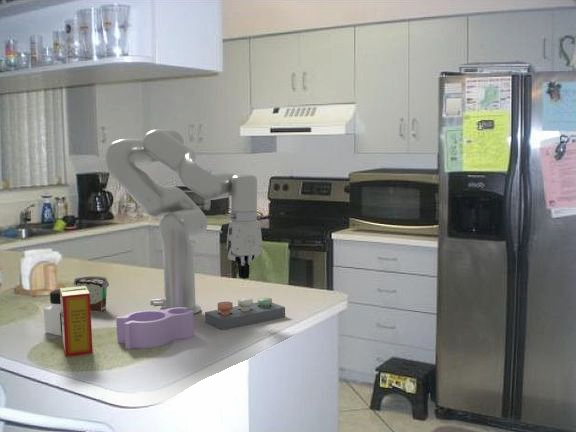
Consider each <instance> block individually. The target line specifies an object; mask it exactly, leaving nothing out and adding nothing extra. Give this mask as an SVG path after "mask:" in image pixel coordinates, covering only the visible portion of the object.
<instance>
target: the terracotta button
mask: <svg viewBox="0 0 576 432" xmlns="http://www.w3.org/2000/svg"><path fill="white" fill-rule="evenodd" d="M233 307H234V304H233V302H231V301H220V302H217V310H220V314H221V315H222V316H225V315H230V310H231V309H233Z"/></svg>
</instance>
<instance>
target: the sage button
mask: <svg viewBox="0 0 576 432" xmlns="http://www.w3.org/2000/svg"><path fill="white" fill-rule="evenodd" d="M257 302H258V305H260V307H262V308H266V307H269V305H272V303H273V299H272V298H271V297H259V298H258V299H257Z"/></svg>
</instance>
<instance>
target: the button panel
mask: <svg viewBox="0 0 576 432" xmlns="http://www.w3.org/2000/svg"><path fill="white" fill-rule="evenodd" d="M285 317H286V307H285V306H282V305H280V304H277V303H274V302H272V305H269V307H266V308H262V307H260V305H258V301H257V302H253V305H252V306H250V311H245V312H243V311H241V306H238V305H236V306H233V309H231V310H230V315H225V316H222V315H221V314H220V310H218V309H215V310H209V311H205V312H204V322H205V323H207V324H208V325H211V326H213V327H216V328H217V329H219V330H222V331H223V330H229V329H233V328H238V326H239V327H242V326H243V327H244V326H248V325H253V324H256V323H262V322H266V321H267V322H268V321H271V320H275V319H276V320H277V319H281V318H285Z"/></svg>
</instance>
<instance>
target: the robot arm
mask: <svg viewBox="0 0 576 432" xmlns="http://www.w3.org/2000/svg"><path fill="white" fill-rule="evenodd" d="M105 152H106V154H105V163H106V168H107V170H108V173H109V174H110V175H111V176H112V178H113V180H114V181H115V182H117V184H118V185H120V187H121V188H123V190H124V191H126V192H127V193H128V196H130V198H131V199H133V200H134V201H135V202H136V204H137V205H138V207H140V208H141V209H142V210H143V212H144V213H146V214H147V215H148V216H149V217H151V218H161V220H160V222H159V225H158V231H159V237H160V242H161V248H162V259H163V282H164V283H163V285H164V286H163V287H164V288H163V289H164V290H163V291H164V296H163V297H160V298H159V299H158V298H152V299H150V306H153V307H160V308H159V310H165V309H169V308H175V307H187V308H188V311H189V310H193V315H195V314H198V313H200V312H201V305H200V304H198V303H196V278H195V275H196V274H195V254H194V253H195V252H194V249H193V246H192V244H191V240H192V239H196V238H199V237H200V236H202V235H204V233H206V231H207V229H208V220H207V216H206V215H205V213H204V212H203V211H202V209H201V208H200V207H199V206H198V204H196V203H195V202H194V201H193V200H192V199H191V198H190V196H188V194H187V193H186V192H184V191H183V190H182V189H181V188H180V187H177V186H175V185H164V186H163V185H159V184H158V183H157V182H155V180H153V179H152V177H151V176H150V175H149V174H148V173H146V172H145V171H144V170H142V169H141V168H139V167H138V166H141V165H143V166H144V165H149V164H153V163H156V162H160V163H161V164H163V165H164V166H165V167H167V168H168V169H170V170H171V171H173V172H174V173H176V174H177V175H178V179H179V180H181V182H182V183H183V185H184V186H185V187H186V188H187V189H189V190H191V192H193V193H195V194H196V195H198V196H199V197H201V198H203V199H206V200H209V201H210V200H212V201H213V200H214V201H215V200H221V199H227V198H231V199H230V201H231V203H230V205H231V208H230V213H228V215H227V216H228V219H229V220H230V221H229V223H228V228H227V234H226V236H227V237H226V253H227V259H228V260H229V261H234V262H235V263H236V265H237V267H238V268H237V274H238V278H240V279H243V280H246V279H249V278H250V265H252V263H253V262H252V261H253V260H254V259H255V258H258V257H260V254H261V253H262V252H263V239H262V238H263V236H262V235H263V234H262V228H261V224H260V220H258V218H257V217H258V178H257V177H256V176H255V175H252V174H238V173H237V174H235V173H232V172H218V173H210V172H208V171H207V170H205V169H203V168H202V167H201V166H199V164H197V163H196V151H194V150H193V149H192V148H190V147H189V146H187V145H185V142H184V138H183V136H182V135H181V134H180V132H178V131H176V130H173V129H152V130H150V131H148V132H146V134H145V135H144V137H143V138H122V139H118V140H115V141H113V142H111V143H110V144H109V145H108V147H107V149H106V151H105Z"/></svg>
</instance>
